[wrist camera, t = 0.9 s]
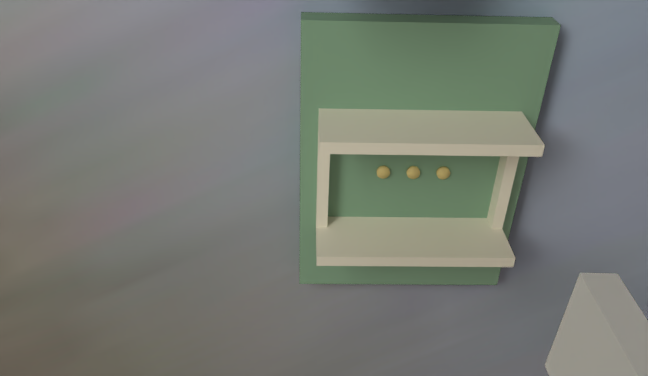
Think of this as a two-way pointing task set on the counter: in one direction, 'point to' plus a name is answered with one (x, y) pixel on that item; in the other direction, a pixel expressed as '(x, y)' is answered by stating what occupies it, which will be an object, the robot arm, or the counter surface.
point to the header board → (416, 143)
